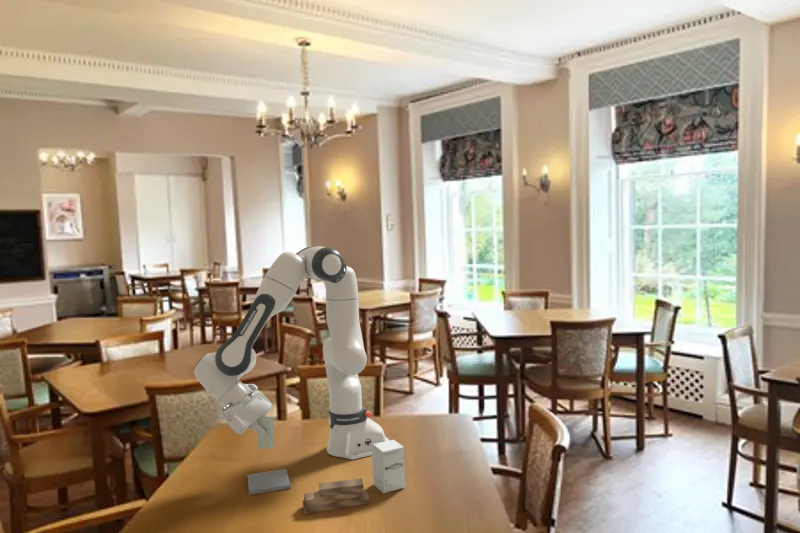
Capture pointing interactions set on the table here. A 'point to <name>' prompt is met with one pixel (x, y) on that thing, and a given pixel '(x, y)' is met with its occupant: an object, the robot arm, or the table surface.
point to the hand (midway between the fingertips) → (267, 431)
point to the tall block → (267, 438)
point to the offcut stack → (335, 496)
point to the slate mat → (268, 481)
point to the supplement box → (388, 466)
